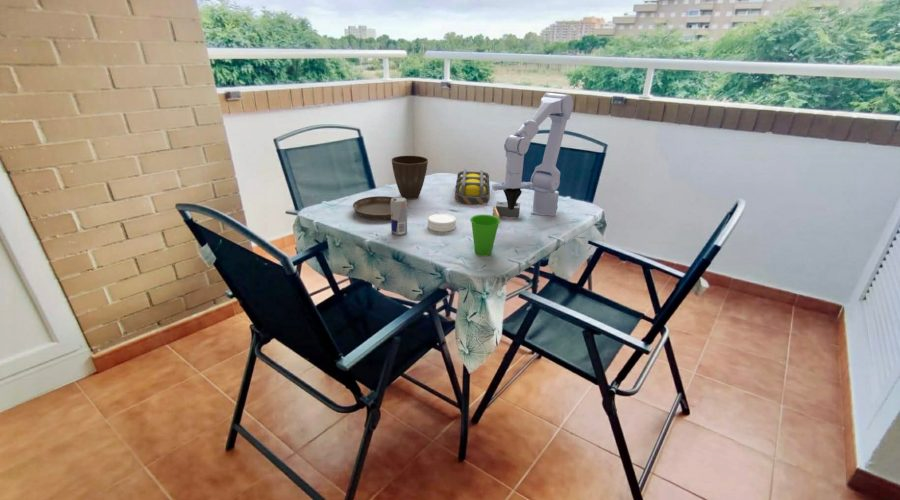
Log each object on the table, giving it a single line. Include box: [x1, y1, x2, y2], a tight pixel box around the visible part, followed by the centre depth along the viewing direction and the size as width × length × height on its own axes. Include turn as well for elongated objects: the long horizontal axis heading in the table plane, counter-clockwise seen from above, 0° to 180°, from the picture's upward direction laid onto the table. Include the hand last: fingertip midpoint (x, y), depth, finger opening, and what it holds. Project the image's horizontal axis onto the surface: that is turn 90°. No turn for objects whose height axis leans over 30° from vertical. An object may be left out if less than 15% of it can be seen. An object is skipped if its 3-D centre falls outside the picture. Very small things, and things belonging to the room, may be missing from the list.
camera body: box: [492, 200, 521, 219], centre depth 166 cm, size 10×7×5 cm
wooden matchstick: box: [492, 205, 500, 219], centre depth 160 cm, size 10×1×3 cm, turn 3°
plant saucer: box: [352, 195, 394, 221], centre depth 166 cm, size 21×21×3 cm
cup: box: [469, 214, 501, 257], centre depth 133 cm, size 9×9×11 cm
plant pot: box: [391, 155, 429, 200], centre depth 181 cm, size 15×15×16 cm
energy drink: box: [390, 196, 408, 236], centre depth 146 cm, size 5×5×12 cm
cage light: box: [454, 169, 491, 206], centre depth 188 cm, size 15×8×30 cm
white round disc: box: [427, 213, 457, 233], centre depth 154 cm, size 10×10×4 cm
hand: (510, 208), depth 155 cm, fingers closed
